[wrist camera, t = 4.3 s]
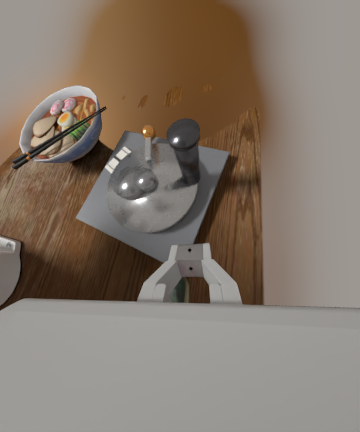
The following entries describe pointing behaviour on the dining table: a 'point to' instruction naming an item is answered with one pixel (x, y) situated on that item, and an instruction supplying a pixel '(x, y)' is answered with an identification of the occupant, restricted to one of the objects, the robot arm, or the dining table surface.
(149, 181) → the wheel
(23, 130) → the ramen bowl
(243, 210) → the dining table surface
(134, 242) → the grey flat square slab
